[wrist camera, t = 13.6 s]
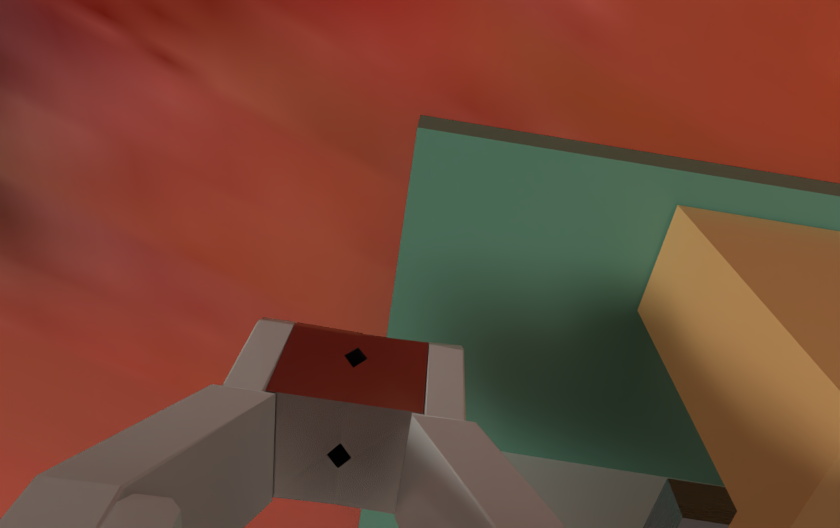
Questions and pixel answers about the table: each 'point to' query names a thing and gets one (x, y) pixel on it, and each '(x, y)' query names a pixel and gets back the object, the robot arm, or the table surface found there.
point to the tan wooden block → (755, 357)
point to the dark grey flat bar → (691, 506)
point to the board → (566, 302)
